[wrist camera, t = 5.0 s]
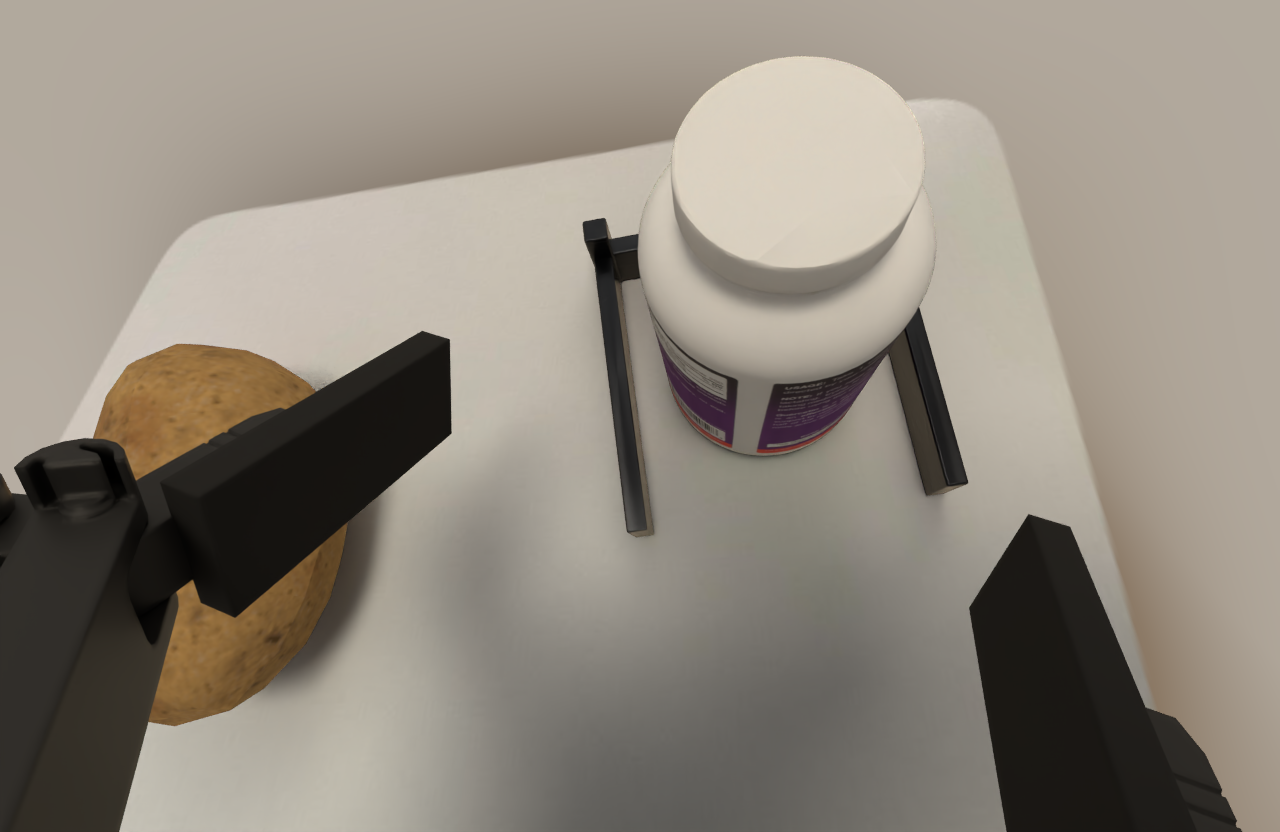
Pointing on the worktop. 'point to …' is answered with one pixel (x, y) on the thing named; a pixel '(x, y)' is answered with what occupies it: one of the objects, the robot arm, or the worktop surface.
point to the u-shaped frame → (612, 267)
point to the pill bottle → (785, 249)
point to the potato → (202, 636)
